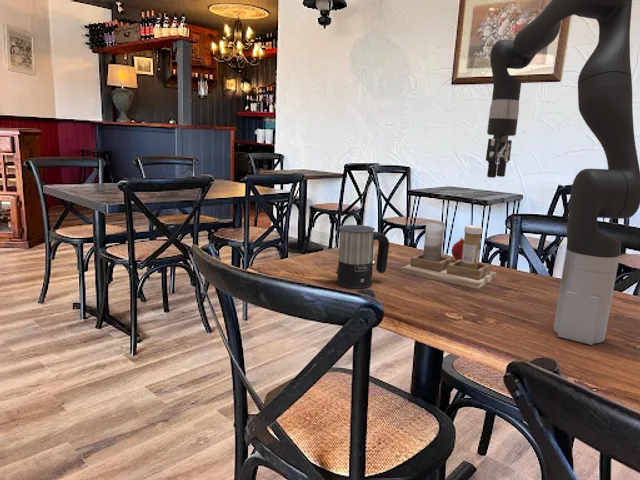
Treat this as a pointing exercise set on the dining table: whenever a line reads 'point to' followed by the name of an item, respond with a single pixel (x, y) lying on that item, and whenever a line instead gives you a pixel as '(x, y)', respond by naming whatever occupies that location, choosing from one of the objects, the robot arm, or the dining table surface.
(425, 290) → the dining table surface
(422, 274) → the wooden condiment tray
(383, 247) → the milk frother
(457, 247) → the onion
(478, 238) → the sprinkles bottle
